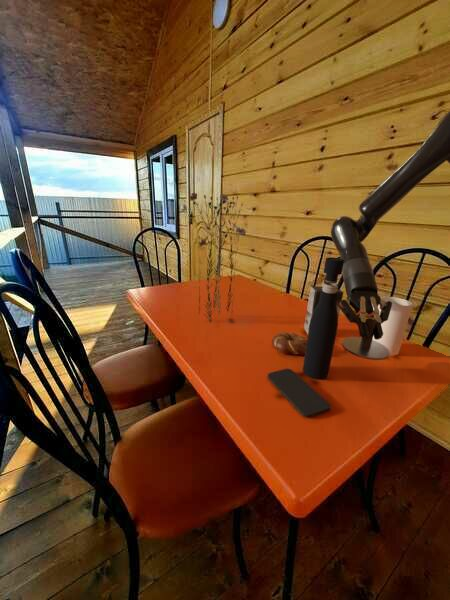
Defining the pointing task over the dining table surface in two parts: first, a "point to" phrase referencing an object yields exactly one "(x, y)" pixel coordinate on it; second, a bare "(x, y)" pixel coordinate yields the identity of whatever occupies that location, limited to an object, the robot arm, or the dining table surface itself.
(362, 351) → the lid
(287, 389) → the phone
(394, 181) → the robot arm
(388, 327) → the cup
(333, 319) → the dark water bottle
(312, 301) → the coffee box
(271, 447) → the dining table surface
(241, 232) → the wildflower
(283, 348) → the pretzel
